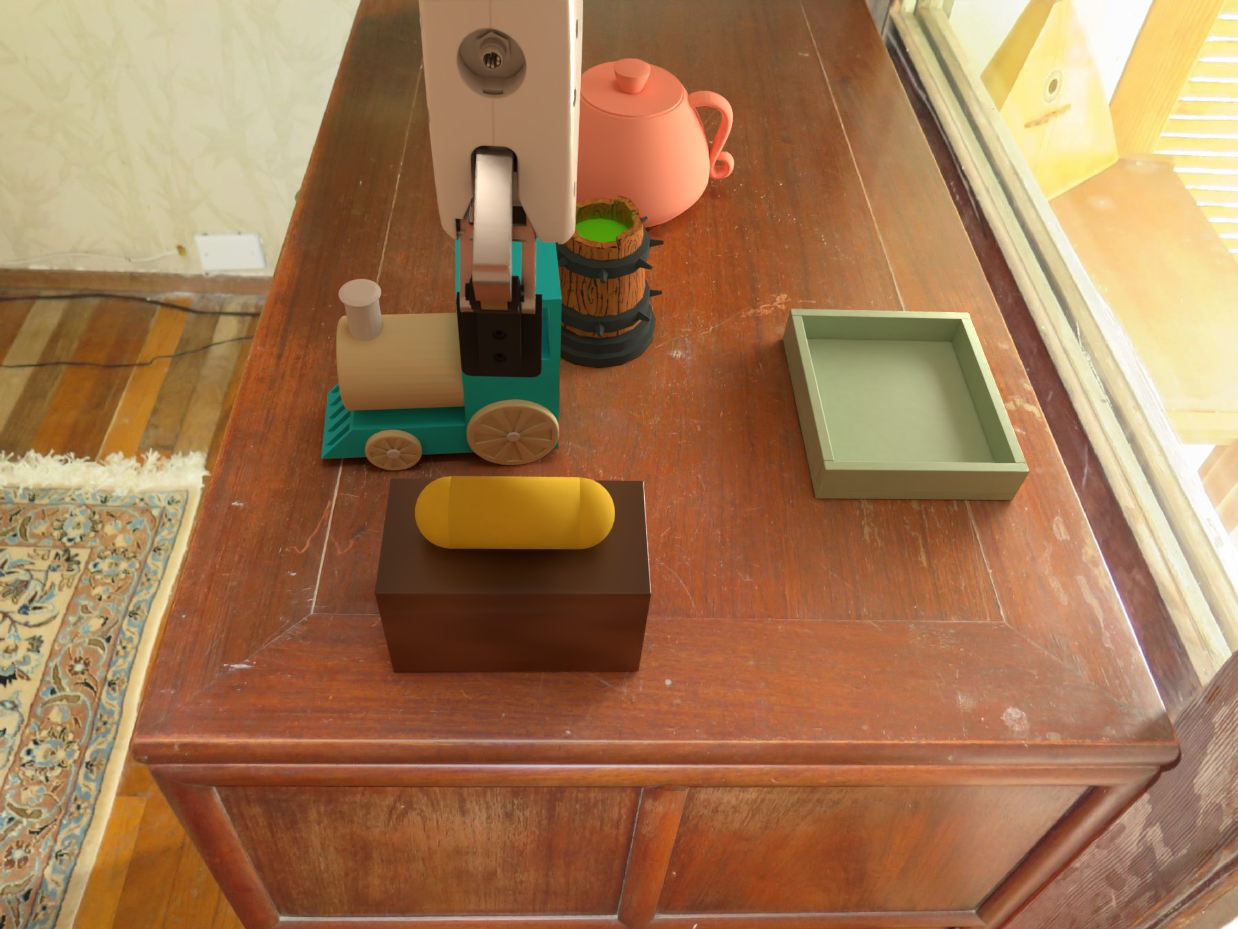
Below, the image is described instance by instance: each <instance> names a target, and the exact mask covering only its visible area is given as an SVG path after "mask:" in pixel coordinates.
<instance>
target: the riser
mask: <svg viewBox="0 0 1238 929" xmlns="http://www.w3.org/2000/svg"><path fill="white" fill-rule="evenodd" d="M436 479H437V478H413V477H412V478H411V477H410V478H408V477H407V478H405V477H404V478H403V477H402V478H400V477H395V478H394V477H392V478H390V481H389V487H388V488H389V489H388V495H387V503H386V510H385V515H384V516H385V517H384V524H383V531H382V537H381V545H380V553H379V559H378V560H379V561H378V566H377V572H376V581H375V587H374V596H375V601H376V606H377V610H378V613H379V618H380V620H381V626H382V630H383V634H384V639H385V642H386V646H387V650H388V656H389V659H390V663H391V668H392V672H393V673H517V672H518V673H523V672H524V673H535V672H536V673H544V672H545V673H546V672H547V673H550V672H553V673H557V672H558V673H560V672H561V673H562V672H563V673H564V672H566V673H567V672H570V673H572V672H574V673H575V672H576V673H577V672H581V673H582V672H586V673H587V672H591V673H593V672H639V671H640V666H641V660H642V654H643V649H644V648H643V647H644V641H645V634H646V628H647V622H648V616H649V610H650V605H651V604H650V603H651V599H652V585H651V570H650V569H651V568H650V555H649V554H650V553H649V540H648V537H649V536H648V524H647V510H646V509H647V507H646V495H645V481H644V480H609V479H607V480H604V479H603V480H601V479H598V480H597V479H595V480H594V479H593V480H594V481H595V482H597V483H599V484H600V485H602V486H603V487H604V488H605V489H606V490H607V492H608V493H609V494H610V496H611V498H612V500H613V504H614V508H615V518H614V523H613V526H612V528H611V530H610V532H609V534H608V535H607V536H606V537H605V539H603V540H602V541H601V542H600V543H598V544H596V545H595V546H593V547H590V548H586V549H450V548H443V547H439V546H437V545H435V544H433V543H431V542H430V541H429V540H427V539H426V538H425V537H424V536H423V534H422V533H421V532H420V530H419V528H418V526H417V523H416V519H415V506H416V503H417V499H418V497H419V495H420V493H421V492H422V491H423V489H424V488H425V487H426V486H427V485H428V484H430V483H431V482H433V481H435V480H436Z"/></svg>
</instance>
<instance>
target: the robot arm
mask: <svg viewBox="0 0 1238 929" xmlns="http://www.w3.org/2000/svg"><path fill="white" fill-rule="evenodd" d="M418 9H419V10H418V11H419V25H420V37H421V48H422V60H423V61H422V63H423V72H424V73H423V74H424V85H425V97H426V106H427V117H428V118H427V119H428V128H429V139H430V149H431V157H432V158H431V160H432V167H433V168H432V169H433V175H434V185H435V192H436V200H437V207H438V215H439V220H440V224H441V228H442V229H443V231H444V232H445V233H446V234H447V235H448V236H449V237H451V238H452V239H453V240H454V241H455V240H458V239H459V236H460V292H457V296H456V295H455V308H456V307H457V310H456V313H457V319H458V332H459V345H460V357H461V369H462V372H463V373H464V374H466V375H468V376H487V377H528V378H532V377H537V376H539V375H540V374H541V370H542V294H536V240H537V237H539V239H540V241H541V242H542V243H545V242H558V244H564V243H565V242H567V241H568V240H569V239H570V238H571V237H572V235H573V234H574V232H575V219H576V187H577V161H578V137H579V114H580V89H581V75H582V63H583V62H582V61H583V60H582V59H583V32H584V29H583V28H584V27H583V26H584V23H583V22H584V0H418ZM473 205H474V207H473ZM512 242H522V265H521V281H520V278H519V276H512Z"/></svg>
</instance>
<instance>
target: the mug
mask: <svg viewBox="0 0 1238 929" xmlns="http://www.w3.org/2000/svg"><path fill="white" fill-rule="evenodd" d="M647 219H648V218H647V216H645V217H643V218H641V217H640V215H639V209H638V208H637V207H636V206H635V205H634V203H633V202H632V201H631V200H630V199H628V198H625V197H622V196H619V195H617V196H616V198H615V200H614V199H607V198H593V199H585V200H582V201H580V202H577V203H576V219H575V232H574V234H573V235H572V237H571V238H570V239H569V240H568V241H567V242H565V243H564V244H558V242H556V251H557V261H558V270H559V279H560V288H561V297H562V309H561V352H560V359H563V360H565V361H566V362H570V363H571V364H573V365H577V366H584V367H590V368H591V367H592V368H597V369H599V368H608V367H614V366H621V365H624V364H626V363H628V362H630V361H632V360H634V359H636V358H638V357H640V356H642V354H643V353H644V352H645V351H646V350H647V349H648V347H649V346H650V345H651V344H652V343H653V339H654V334H655V327H656V320H657V319H656V316H655V314H654V310H653V308H652V304H651V303H650V301H651V298H653V297H656V296H657V297H658V296H660V295H663V290H657V289H651V287H650V285H649V283H648V281H647V278H646V270H653V266H652V265H651V264H650V263H648V259H649V255H650V251H651V248H654V247H658V246H661V245H664V244H665V243H664V242H665V241H664V240H659V239H652V238H651V237H650V235H649V233H648V231H647V228H645V226H644V225H643V223H644V222H645V221H646V220H647Z"/></svg>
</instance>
